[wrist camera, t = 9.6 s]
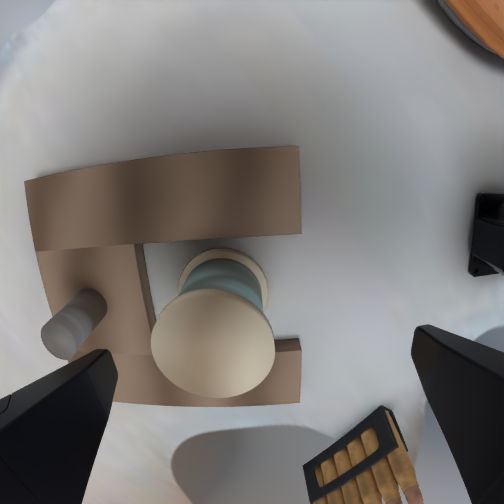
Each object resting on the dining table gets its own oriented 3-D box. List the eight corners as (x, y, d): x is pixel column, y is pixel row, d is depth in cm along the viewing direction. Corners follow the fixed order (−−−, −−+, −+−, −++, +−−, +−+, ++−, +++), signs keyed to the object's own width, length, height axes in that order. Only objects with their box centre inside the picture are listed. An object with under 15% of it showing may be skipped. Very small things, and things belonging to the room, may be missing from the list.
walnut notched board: (294, 146, 18) (316, 142, 12) (297, 390, 24) (308, 451, 17) (36, 178, 19) (-25, 192, 12) (89, 387, 24) (60, 436, 18)
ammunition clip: (381, 404, 24) (426, 510, 13) (392, 410, 25) (438, 511, 13) (302, 465, 27) (315, 564, 15) (314, 470, 27) (331, 564, 16)
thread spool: (265, 245, 20) (273, 292, 13) (269, 326, 22) (276, 395, 15) (174, 250, 20) (139, 298, 13) (186, 329, 22) (164, 396, 15)
